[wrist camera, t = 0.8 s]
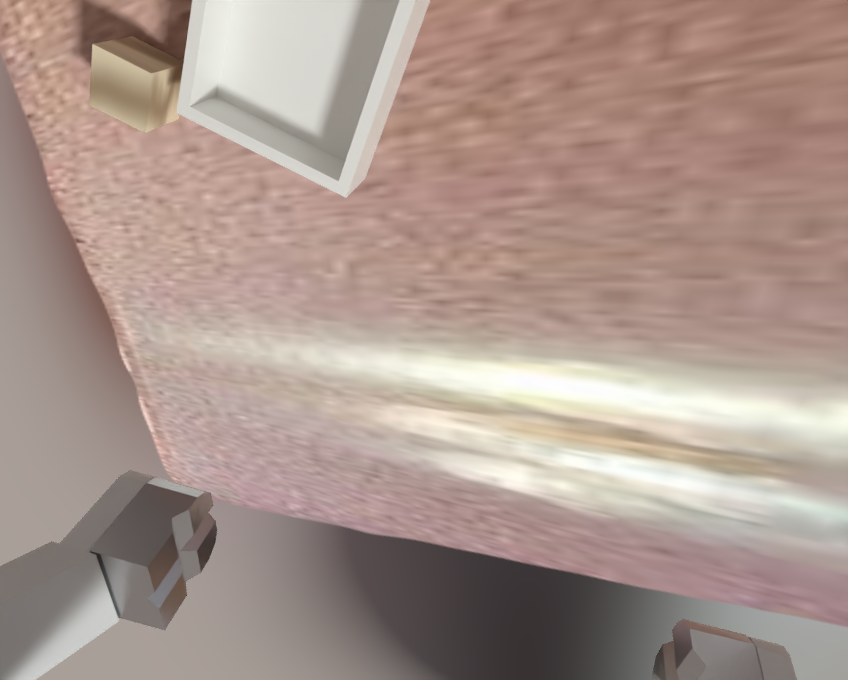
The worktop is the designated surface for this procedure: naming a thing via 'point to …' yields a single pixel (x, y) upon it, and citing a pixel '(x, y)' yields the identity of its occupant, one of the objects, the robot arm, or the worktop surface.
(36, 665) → the robot arm
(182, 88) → the tote
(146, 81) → the maple cube
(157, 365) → the worktop surface
